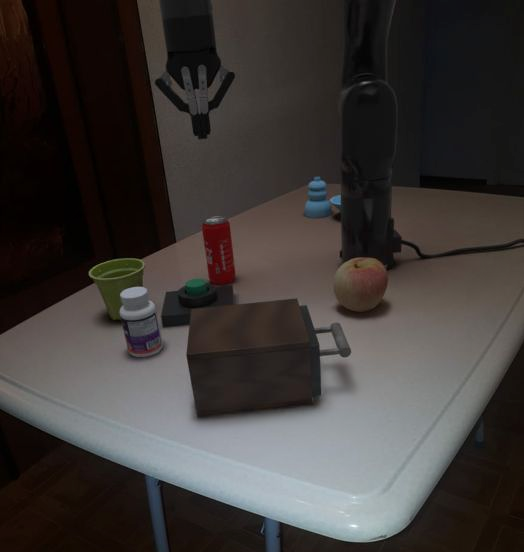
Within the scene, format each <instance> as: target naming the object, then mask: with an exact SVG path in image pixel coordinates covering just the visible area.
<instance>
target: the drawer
mask: <svg viewBox="0 0 524 552" xmlns="http://www.w3.org/2000/svg"><path fill="white" fill-rule="evenodd" d="M299 306H300V309H301V313H302V316H303V320H304V323H305V327H306V330H307V333H308V337H309V340H310V354H311V374H312V395H313V397H318V396H322V376H321V375H322V373H321V357H325V356H327V357H328V356H335V355H336V356H337V355H339V356H340V357H341V358H348V357H350V356H351V354H352V350H351V346H350V344H349V341H348V340H347V337H346V334H345V332H344V330H343V327H342V325H341V324H340V323H339V322H333V323H331V324H330V326H322V327H315V326H314V324H313V321H312V317H311V314H310V311H309V307H308V305H307V304H303V305H299ZM328 333H331V335H332V338H333V340H334V343H335V346H336V348H327V349H321V348H320V346H321V345H320V341H319V338H318V336H317V335H318V334H319V335H320V334H328Z"/></svg>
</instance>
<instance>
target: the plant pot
mask: <svg viewBox="0 0 524 552" xmlns="http://www.w3.org/2000/svg"><path fill="white" fill-rule="evenodd" d="M145 267H146V263H145V261H143V260H142V259H139V258H132V257H131V258H130V257H127V258H126V257H125V258H115V259H112V260H107V261H105V262H102V263H99V264H96V265H95V266H93V267H92V268H90V270H89V271H88V276H89V278H90V279H92V280H93V283H94V285H96V286H97V289H98V291H99V293H100V295H101V298H102V301H103V303H104V305H105V308H106V310H107V313H108V314H109V317H110V319H111V320H113V321H117V320H119V321H121V318H120V309H121V307H122V306H123V304H122V302H121V297H120V294H121V292H122V291H124V290H126V289H128V288H132V287H144V280H143V278H144V277H143V276H144V269H145Z"/></svg>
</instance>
